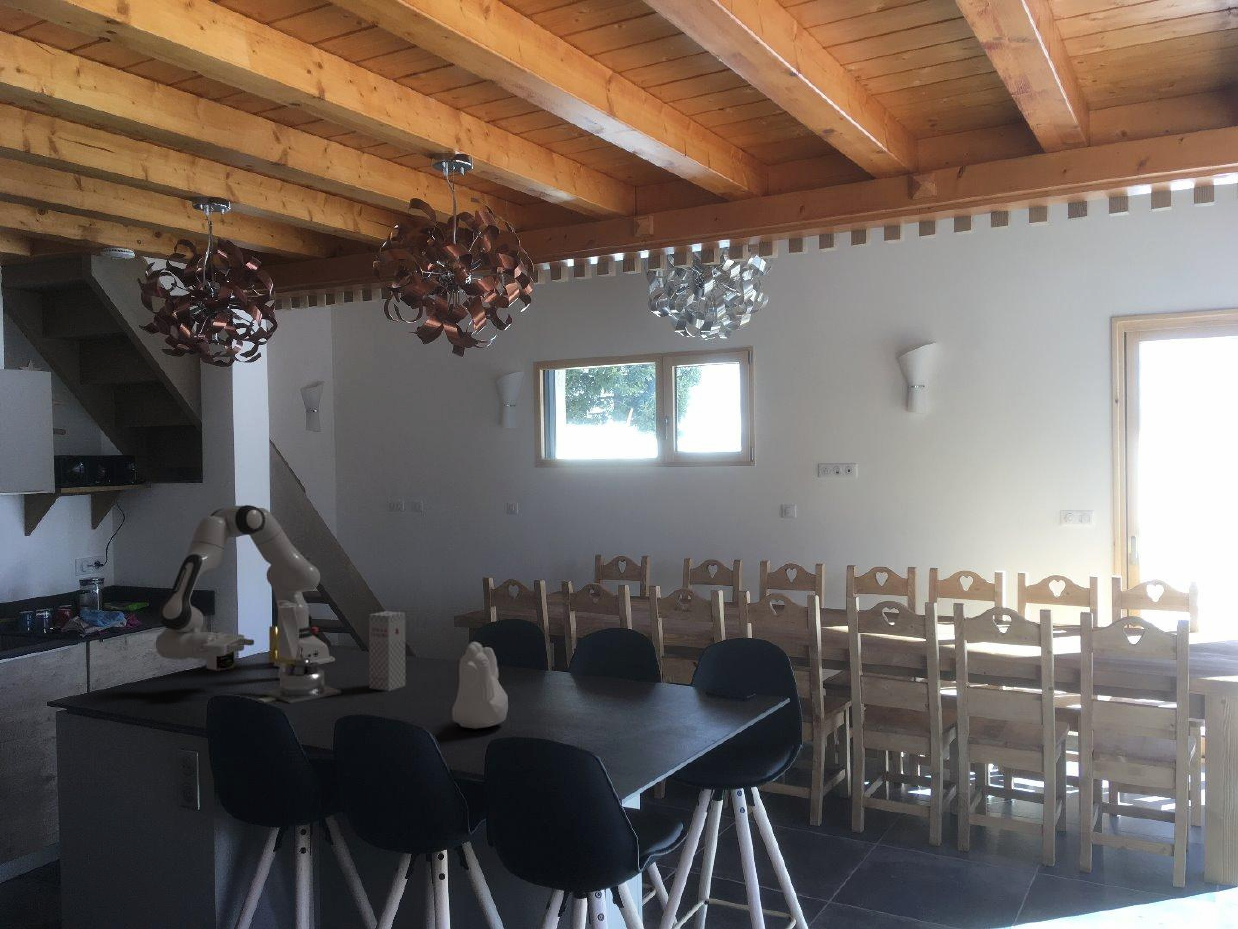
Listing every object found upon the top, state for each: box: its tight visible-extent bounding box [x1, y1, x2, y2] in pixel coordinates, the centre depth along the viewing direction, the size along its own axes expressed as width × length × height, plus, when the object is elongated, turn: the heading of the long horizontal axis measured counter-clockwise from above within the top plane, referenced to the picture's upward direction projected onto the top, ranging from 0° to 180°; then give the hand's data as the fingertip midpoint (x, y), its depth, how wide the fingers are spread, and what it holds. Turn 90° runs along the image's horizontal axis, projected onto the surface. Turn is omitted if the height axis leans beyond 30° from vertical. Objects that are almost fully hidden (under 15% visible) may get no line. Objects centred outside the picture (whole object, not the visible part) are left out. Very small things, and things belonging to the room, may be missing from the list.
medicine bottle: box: [206, 651, 235, 672], centre depth 366 cm, size 7×7×12 cm
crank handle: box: [268, 625, 320, 675], centre depth 326 cm, size 18×10×14 cm, turn 66°
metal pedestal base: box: [262, 668, 342, 704], centre depth 324 cm, size 18×18×7 cm
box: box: [368, 610, 406, 692], centre depth 334 cm, size 8×8×25 cm
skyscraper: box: [276, 600, 304, 680], centre depth 349 cm, size 8×8×28 cm
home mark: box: [258, 696, 277, 703], centre depth 316 cm, size 4×4×1 cm
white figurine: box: [451, 641, 509, 729], centre depth 286 cm, size 25×16×25 cm, turn 159°
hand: (248, 645), depth 329 cm, fingers open, 8 cm apart
